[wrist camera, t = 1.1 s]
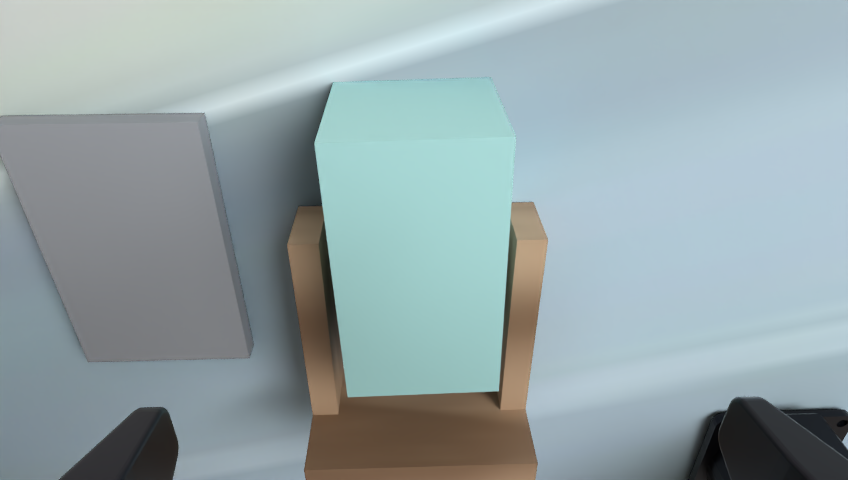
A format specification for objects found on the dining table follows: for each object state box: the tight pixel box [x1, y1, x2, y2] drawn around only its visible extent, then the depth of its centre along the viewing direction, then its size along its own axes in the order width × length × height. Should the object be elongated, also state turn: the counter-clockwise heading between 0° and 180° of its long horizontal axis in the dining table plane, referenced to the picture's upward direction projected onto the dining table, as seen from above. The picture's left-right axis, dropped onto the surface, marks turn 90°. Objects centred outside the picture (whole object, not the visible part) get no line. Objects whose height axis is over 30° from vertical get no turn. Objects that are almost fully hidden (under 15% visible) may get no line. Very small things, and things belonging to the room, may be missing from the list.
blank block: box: [314, 77, 516, 397], centre depth 19 cm, size 9×5×5 cm, turn 1°
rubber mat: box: [0, 113, 254, 362], centre depth 21 cm, size 10×6×1 cm, turn 0°
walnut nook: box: [287, 202, 548, 480], centre depth 21 cm, size 9×8×5 cm
